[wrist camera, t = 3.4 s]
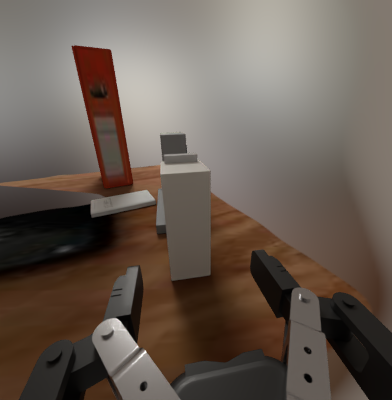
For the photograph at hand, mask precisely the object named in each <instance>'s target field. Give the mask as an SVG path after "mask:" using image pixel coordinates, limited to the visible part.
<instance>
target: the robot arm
mask: <svg viewBox="0 0 392 400" xmlns="http://www.w3.org/2000/svg"><path fill="white" fill-rule="evenodd" d="M250 270H251V274H252V276H253V278H254V280H255V282H256V283H257V285H258V287H259V288H260V290H261V292H262V294H263V295H264V297H265V299H266V300H267V302H268V304H269V306H270V307H271V309H272V311H273V312H274V314H275V316H276V317H277V318H280V317H284V319H285V320H286V321H285V327H284V338H283V348H282V356H281V361H279V360H277V359H275V358H272V357H268V356H264V354H263V351H262V349H258V350H253V351H249V352H244V353H242V354H240V355H238V356H237V357H235V358H233V359H232V360H230V361H228V362H226V363H222V362H212V361H201V362H196V363H191V364H186V365H185V372H184V373H183V374H181V375H180V376H178V377H177V378H176V379H175V380H174V381H173V382H172V383H171V384H169V383H168V381H167V380H166V379H165V377H164V376H163V374H162V373H161V372H160V370H159V369H158V368H157V366H156V365H155V363H154V362H153V361H152V359H151V358H150V356H149V355H148V354H147V352H146V351H145V350H144V349H143V348H141V349H140V348H139V347H138V345H137V341H138V332H139V324H140V315H141V307H142V298H143V280H142V274H141V269H140V266H131V267H128V268H127V272H126V275H124V276H120V277H119V278H118V279H117V280H116V282H115V283H114V287H113V291H112V293H111V297H110V300H109V303H108V306H107V309H106V313H105V316H104V319H103V322H102V323H101V324H100V325H99V326H98V327H97V328H96V329H95V331H94V333H93V334H91V335H90V336H88V337H86V338H84V339H82V340H80V341H78V342H75V343H73V344H72V342H71V341H69V340H60V341H57V342H55V343H54V344H52V345H51V346H49V347H48V348H47V349H46V350H45V351H44V352H43V353H42V354H41V356H40V357H39V359H38V361H37V363H36V365H35V367H34V369H33V371H32V373H31V375H30V377H29V380H28V382H27V384H26V386H25V388H24V390H23V392H22V394H21V396H20V398H19V400H84V396H85V392H86V389H88V388H89V387H91V386H93V385H95V384H96V383H98V382H100V381H102V380H103V379H105V378H107V380H108V382H109V384H110V386H111V388H112V390H113V392H114V394H115V396H116V398H117V400H331V392H330V383H329V382H330V381H329V371H328V362H327V361H328V360H327V349H326V339H327V340H328V342H329V343H330V345H331V346H332V347H333V349H334V350H335V352H336V353H337V355H338V356H339V357H340V359H341V360H342V362H343V363H344V364H345V366H346V367H347V369H348V370H349V372H350V373H351V375H352V376H353V377H354V379H355V380H356V382H357V383H358V385H359V386H360V387H361V389H362V390H363V392H364V393H365V394H366V396H367V397H368V399H369V400H392V333H391V332H390V331H389V330H388V329H387V328H386V327H385V326H384V325H383V324H382V323H381V322H380V321H379V320H378V319H377V318H376V317H375V316H374V315H373V314H372V313H371V312H370V311H369V310H368V309H367V308H366V307H365V306H364V305H363V304H361V303H360V302H359V301H358V300H357V299H356V298H354V297H353V296H351V295H349V294H346V293H341V292H338V293H335V294H334V295H333V297H332V299H331V298H323V297H317V296H316V295H315V294H314V293H313V292H311V291H310V290H308V289H305V288H301V287H300V286H299V284H298V283H297V282H296V281H295V280H294V278H293V277H292V276H291V275H290V274H289V272H288V271H286V269H285V268H284V267H283V265H282V264H281V263H280V262H279V261H278V260H277V259H276V258H274V257H273V256H268V255H267V253H266V252H265V251H264V250H255V251H252V256H251V265H250ZM354 335H355V336H356V337H357V338H358V339H357V338H356V337H355V336H354ZM325 338H326V339H325ZM360 342H361V343H362V344H363V345H362V344H361V343H360ZM365 348H366V349H365Z"/></svg>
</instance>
